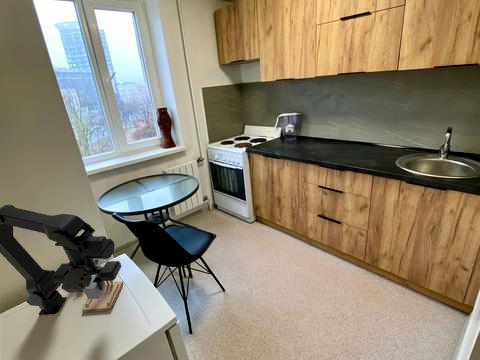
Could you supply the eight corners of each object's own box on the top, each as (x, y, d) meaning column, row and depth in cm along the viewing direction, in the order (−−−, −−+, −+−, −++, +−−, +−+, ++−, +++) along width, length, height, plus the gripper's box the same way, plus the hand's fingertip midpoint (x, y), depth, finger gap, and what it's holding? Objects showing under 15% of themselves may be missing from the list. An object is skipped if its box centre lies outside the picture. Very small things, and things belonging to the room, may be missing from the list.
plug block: (88, 299, 81) (82, 288, 78) (96, 285, 85) (91, 275, 83) (99, 298, 81) (94, 288, 78) (106, 285, 85) (101, 274, 83)
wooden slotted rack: (82, 311, 87) (77, 302, 85) (97, 285, 97) (92, 275, 94) (111, 309, 87) (106, 299, 85) (123, 283, 97) (119, 273, 94)
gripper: (29, 278, 68) (52, 314, 75) (98, 274, 68) (114, 311, 75) (54, 248, 78) (73, 283, 85) (115, 245, 78) (128, 280, 85)
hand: (96, 289), depth 82 cm, fingers closed on plug block, 3 cm apart
